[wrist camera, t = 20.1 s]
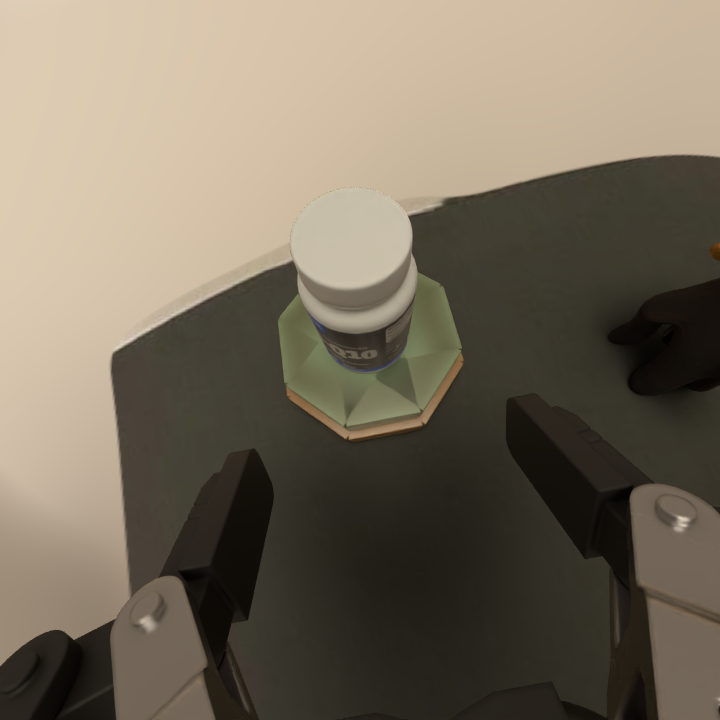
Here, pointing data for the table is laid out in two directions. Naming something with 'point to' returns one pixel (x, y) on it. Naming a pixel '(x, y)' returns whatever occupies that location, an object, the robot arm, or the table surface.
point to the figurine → (679, 338)
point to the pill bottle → (357, 275)
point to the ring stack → (378, 389)
